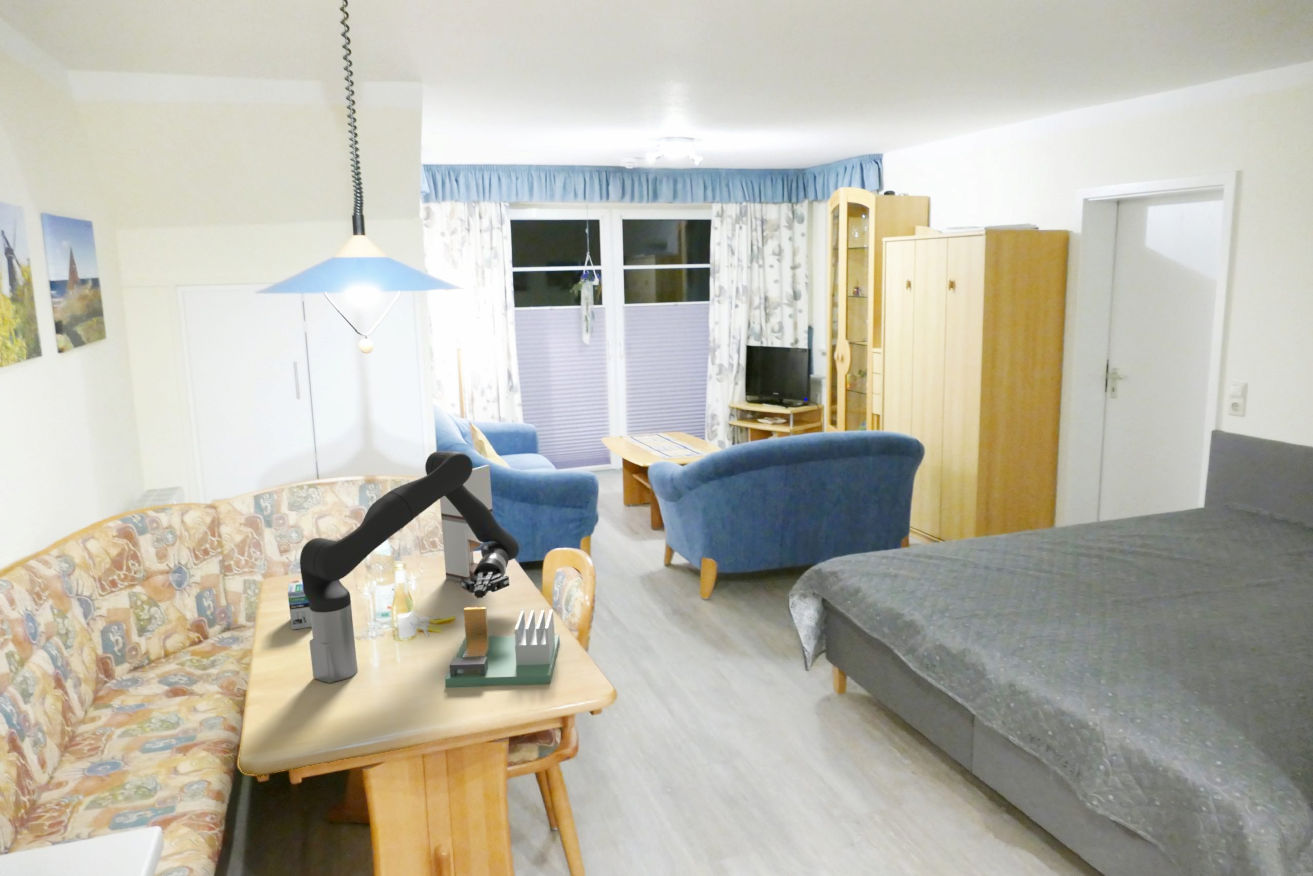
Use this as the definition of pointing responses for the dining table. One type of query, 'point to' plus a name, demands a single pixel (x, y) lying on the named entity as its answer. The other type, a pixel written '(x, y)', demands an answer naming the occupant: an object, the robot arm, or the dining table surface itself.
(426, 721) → the dining table surface
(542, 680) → the heatsink board
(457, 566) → the notched white tower
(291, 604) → the light bulb box
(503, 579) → the robot arm
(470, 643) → the upright wooden plank
